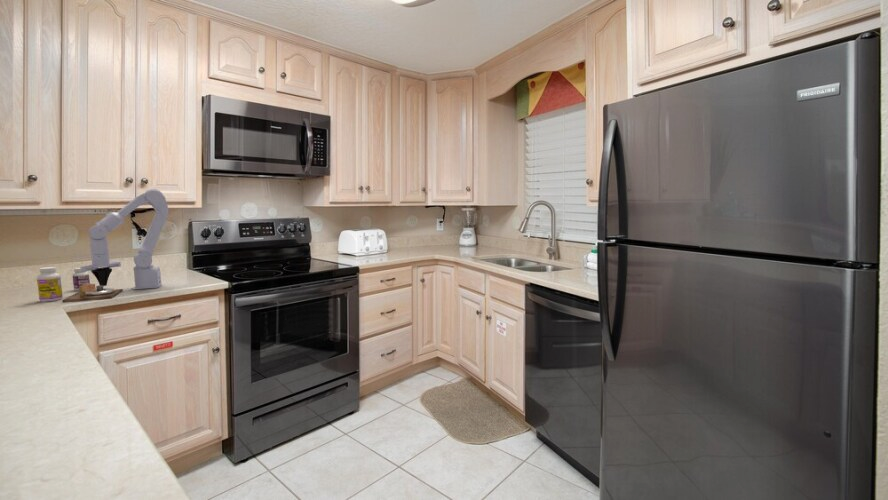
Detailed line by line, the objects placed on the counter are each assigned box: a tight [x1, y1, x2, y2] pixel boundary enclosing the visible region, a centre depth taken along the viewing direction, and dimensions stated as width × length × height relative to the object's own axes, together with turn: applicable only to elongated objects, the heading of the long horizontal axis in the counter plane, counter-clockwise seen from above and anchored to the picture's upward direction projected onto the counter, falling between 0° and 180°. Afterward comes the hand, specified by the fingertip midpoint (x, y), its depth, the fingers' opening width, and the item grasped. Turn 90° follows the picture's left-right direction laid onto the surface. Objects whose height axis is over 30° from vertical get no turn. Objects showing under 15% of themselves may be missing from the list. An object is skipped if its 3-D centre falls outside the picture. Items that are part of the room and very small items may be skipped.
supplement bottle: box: [36, 266, 64, 303], centre depth 159 cm, size 7×7×13 cm
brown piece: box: [61, 286, 124, 303], centre depth 166 cm, size 15×15×6 cm
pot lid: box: [83, 283, 115, 296], centre depth 167 cm, size 12×9×3 cm
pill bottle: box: [72, 267, 91, 292], centre depth 178 cm, size 5×5×10 cm
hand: (103, 285), depth 174 cm, fingers closed
